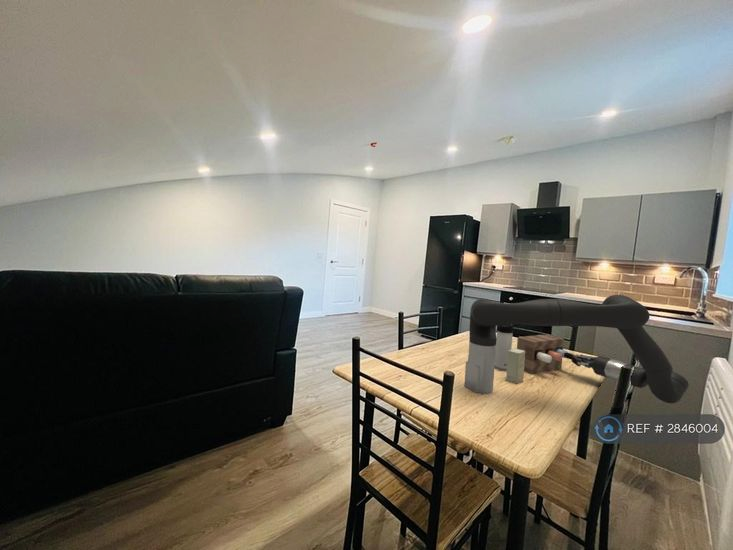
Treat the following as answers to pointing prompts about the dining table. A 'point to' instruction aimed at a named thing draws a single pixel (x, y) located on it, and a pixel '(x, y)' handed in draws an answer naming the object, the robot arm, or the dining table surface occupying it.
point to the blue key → (561, 352)
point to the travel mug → (503, 346)
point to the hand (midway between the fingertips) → (565, 354)
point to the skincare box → (515, 365)
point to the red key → (555, 355)
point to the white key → (544, 357)
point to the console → (539, 345)
